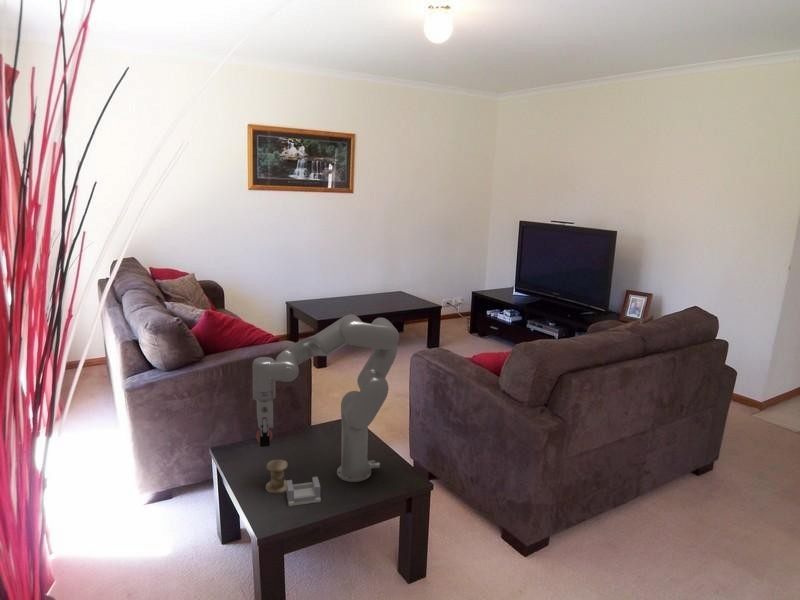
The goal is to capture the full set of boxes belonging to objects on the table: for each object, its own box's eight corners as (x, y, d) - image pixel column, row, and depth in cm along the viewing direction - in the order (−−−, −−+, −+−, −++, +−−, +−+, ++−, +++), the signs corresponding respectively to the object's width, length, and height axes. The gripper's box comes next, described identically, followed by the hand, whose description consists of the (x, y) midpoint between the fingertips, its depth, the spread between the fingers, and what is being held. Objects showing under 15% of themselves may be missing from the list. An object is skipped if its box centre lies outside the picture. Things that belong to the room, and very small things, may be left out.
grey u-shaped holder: (317, 487, 190) (317, 475, 189) (320, 501, 182) (320, 488, 181) (286, 492, 187) (286, 478, 186) (288, 506, 179) (288, 492, 178)
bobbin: (288, 479, 194) (287, 457, 193) (290, 491, 187) (289, 468, 185) (265, 482, 192) (264, 460, 190) (266, 495, 185) (265, 471, 183)
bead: (272, 438, 192) (272, 424, 191) (272, 445, 187) (272, 431, 186) (256, 439, 191) (256, 425, 190) (256, 447, 186) (256, 432, 184)
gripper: (276, 402, 178) (276, 452, 182) (274, 383, 194) (274, 430, 198) (253, 403, 176) (253, 454, 180) (252, 384, 192) (253, 432, 196)
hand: (264, 441), depth 189 cm, fingers closed on bead, 5 cm apart
